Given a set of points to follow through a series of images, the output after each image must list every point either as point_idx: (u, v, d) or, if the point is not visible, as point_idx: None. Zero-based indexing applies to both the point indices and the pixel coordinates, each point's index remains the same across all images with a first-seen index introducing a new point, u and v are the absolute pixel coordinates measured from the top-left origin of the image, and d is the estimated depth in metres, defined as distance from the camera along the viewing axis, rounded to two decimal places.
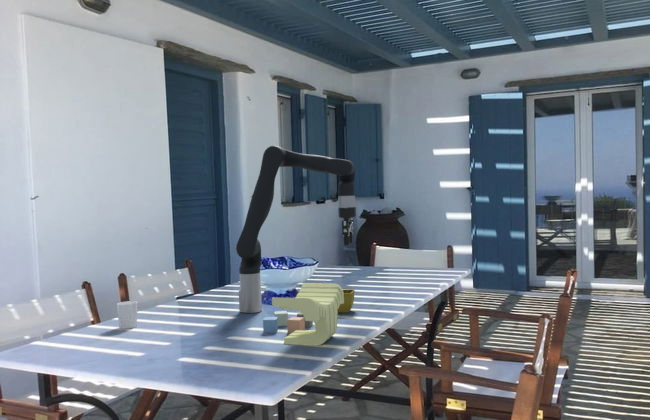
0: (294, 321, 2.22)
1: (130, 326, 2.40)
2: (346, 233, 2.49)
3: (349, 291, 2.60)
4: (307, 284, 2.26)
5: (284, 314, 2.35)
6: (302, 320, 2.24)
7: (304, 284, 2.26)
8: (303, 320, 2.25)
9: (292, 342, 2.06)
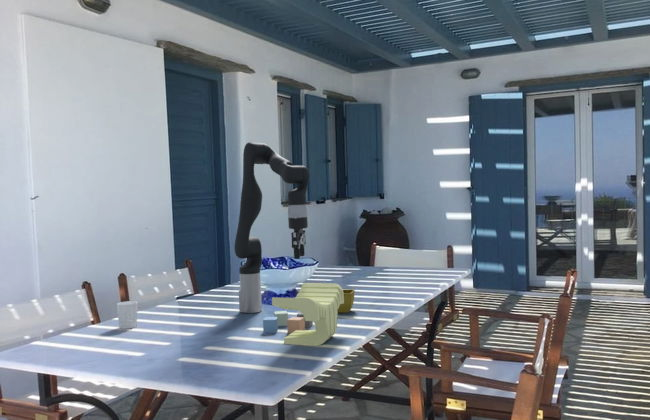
0: (294, 321, 2.22)
1: (130, 326, 2.40)
2: (296, 246, 2.28)
3: (349, 291, 2.60)
4: (307, 284, 2.26)
5: (284, 314, 2.35)
6: (302, 320, 2.24)
7: (304, 284, 2.26)
8: (303, 320, 2.25)
9: (292, 342, 2.06)
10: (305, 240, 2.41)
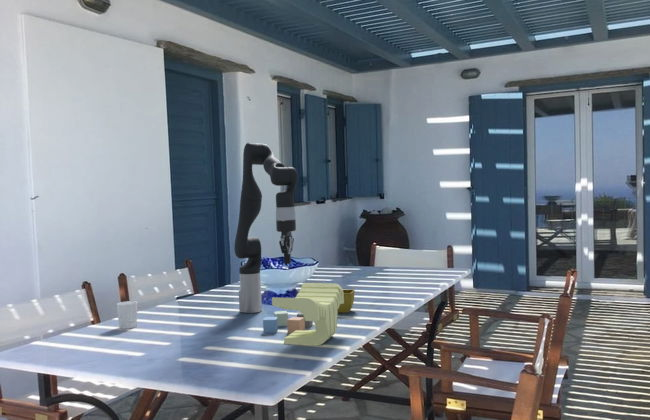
0: (294, 321, 2.22)
1: (130, 326, 2.40)
2: (286, 251, 2.27)
3: (349, 291, 2.60)
4: (307, 284, 2.26)
5: (284, 314, 2.35)
6: (302, 320, 2.24)
7: (304, 284, 2.26)
8: (303, 320, 2.25)
9: (292, 342, 2.06)
10: (292, 248, 2.34)
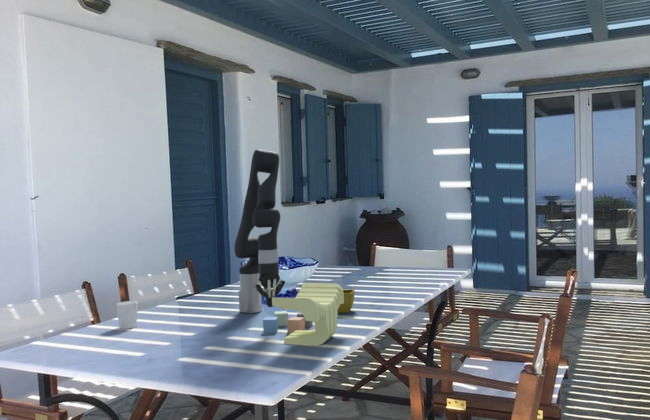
0: (294, 321, 2.22)
1: (130, 326, 2.40)
2: None
3: (349, 291, 2.60)
4: (307, 284, 2.26)
5: (284, 314, 2.35)
6: (302, 320, 2.24)
7: (304, 284, 2.26)
8: (303, 320, 2.25)
9: (292, 342, 2.06)
10: (279, 291, 2.27)
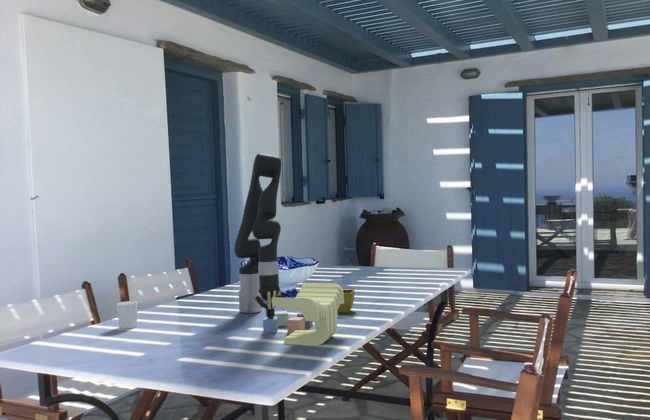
0: (294, 321, 2.22)
1: (130, 326, 2.40)
2: (263, 306, 2.24)
3: (349, 291, 2.60)
4: (307, 284, 2.26)
5: (284, 314, 2.35)
6: (302, 320, 2.24)
7: (304, 284, 2.26)
8: (303, 320, 2.25)
9: (292, 342, 2.06)
10: None
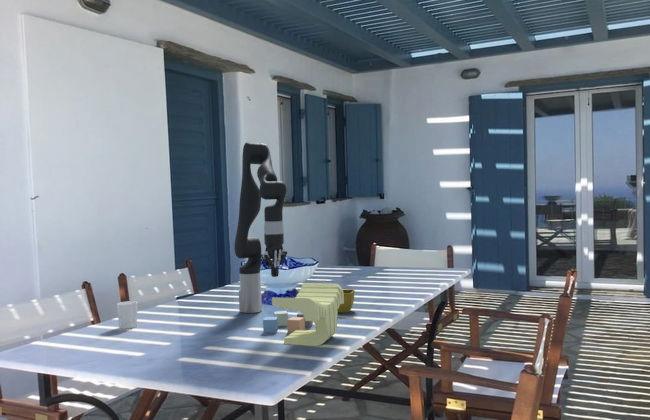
0: (294, 321, 2.22)
1: (130, 326, 2.40)
2: (270, 264, 2.30)
3: (349, 291, 2.60)
4: (307, 284, 2.26)
5: (284, 314, 2.35)
6: (302, 320, 2.24)
7: (304, 284, 2.26)
8: (303, 320, 2.25)
9: (292, 342, 2.06)
10: None
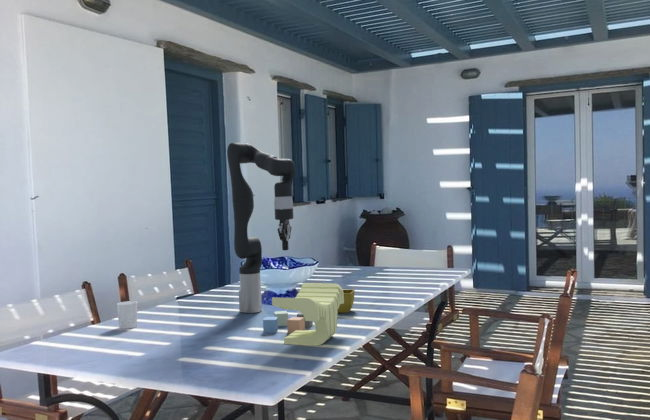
0: (294, 321, 2.22)
1: (130, 326, 2.40)
2: (284, 238, 2.39)
3: (349, 291, 2.60)
4: (307, 284, 2.26)
5: (284, 314, 2.35)
6: (302, 320, 2.24)
7: (304, 284, 2.26)
8: (303, 320, 2.25)
9: (292, 342, 2.06)
10: None
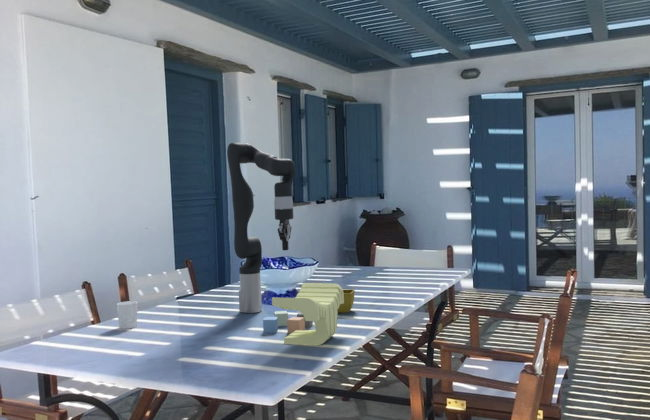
0: (294, 321, 2.22)
1: (130, 326, 2.40)
2: (284, 238, 2.39)
3: (349, 291, 2.60)
4: (307, 284, 2.26)
5: (284, 314, 2.35)
6: (302, 320, 2.24)
7: (304, 284, 2.26)
8: (303, 320, 2.25)
9: (292, 342, 2.06)
10: None
